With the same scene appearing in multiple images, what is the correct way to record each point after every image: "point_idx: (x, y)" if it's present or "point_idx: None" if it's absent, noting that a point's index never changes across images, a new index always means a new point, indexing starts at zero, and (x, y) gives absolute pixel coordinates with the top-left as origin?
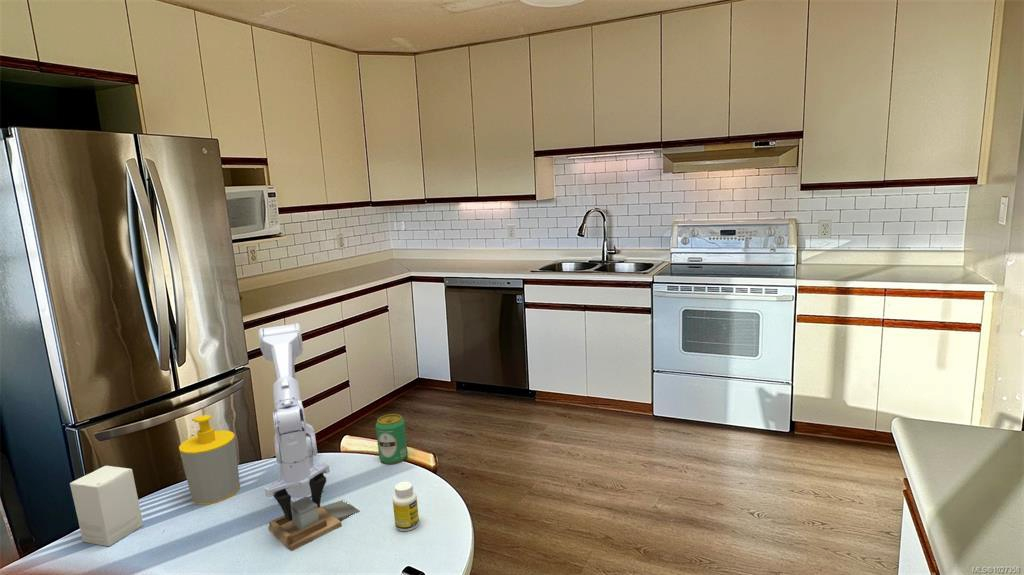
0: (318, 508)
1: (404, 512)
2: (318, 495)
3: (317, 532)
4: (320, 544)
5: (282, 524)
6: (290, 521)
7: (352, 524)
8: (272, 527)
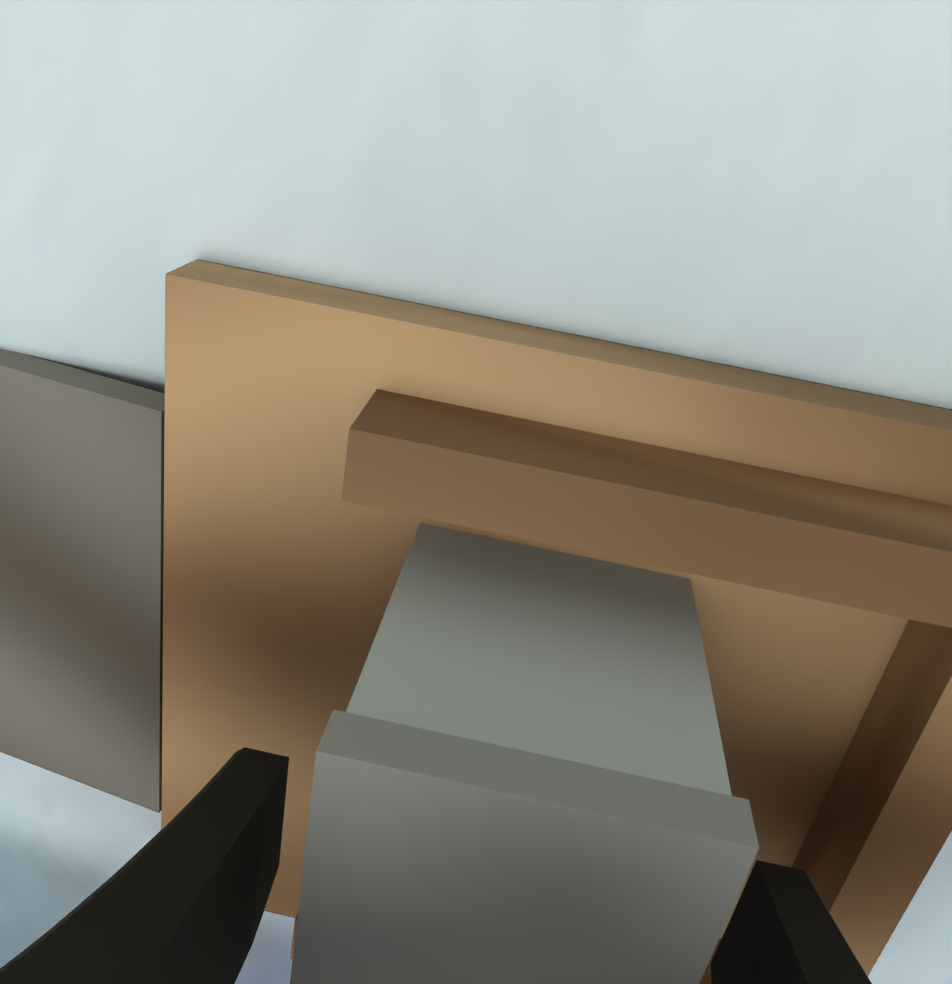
0: None
1: None
2: (132, 949)
3: (578, 384)
4: (715, 139)
5: None
6: None
7: (65, 120)
8: None
